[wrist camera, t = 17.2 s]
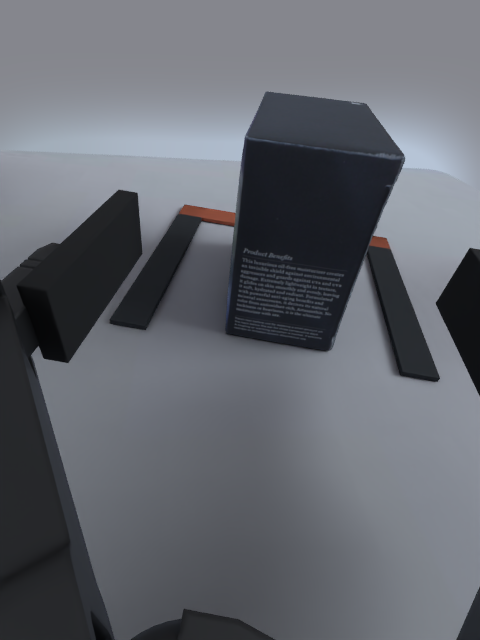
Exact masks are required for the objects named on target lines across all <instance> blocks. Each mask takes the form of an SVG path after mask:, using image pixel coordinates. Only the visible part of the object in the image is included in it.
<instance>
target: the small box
mask: <svg viewBox="0 0 480 640" xmlns="http://www.w3.org/2000/svg"><path fill="white" fill-rule="evenodd" d="M404 162H405V157H404V154H403V153H402V151H401V150H400V149H399V147H398V146H397V145H396V144H395V142H394V141H393V140H392V139H391V137H390V136H389V134H388V133H387V132H386V130H385V129H384V127H383V126H382V125H381V123H380V122H379V121H378V120H377V118H376V117H375V115H374V114H373V113H372V111H371V110H370V108H369V107H368V106H367V104H364V103H357V102H349V101H340V100H332V99H325V98H316V97H307V96H299V95H290V94H281V93H274V92H266V93H265V95H264V97H263V100H262V102H261V104H260V106H259V108H258V111H257V113H256V115H255V117H254V119H253V121H252V124H251V125H250V128H249V129H248V132H247V133H246V136H245V141H244V148H243V154H242V162H241V169H240V177H239V186H238V195H237V204H236V215H235V225H234V235H233V245H232V255H231V266H230V276H229V287H228V299H227V313H226V329H225V330H226V333H228V334H233V335H238V336H244V337H250V338H256V339H262V340H267V341H273V342H279V343H284V344H290V345H297V346H302V347H308V348H314V349H320V350H327V351H328V350H331V349H332V347H333V344H334V341H335V338H336V335H337V332H338V329H339V326H340V323H341V320H342V317H343V314H344V312H345V309H346V307H347V303H348V301H349V298H350V296H351V293H352V290H353V288H354V285H355V282H356V279H357V277H358V274H359V272H360V269H361V266H362V264H363V261H364V258H365V256H366V254H367V251H368V247H369V245H370V242H371V240H372V237H373V234H374V232H375V230H376V228H377V223H378V222H379V219H380V217H381V214H382V212H383V209H384V207H385V205H386V203H387V200H388V198H389V196H390V194H391V191H392V189H393V186H394V184H395V182H396V181H397V178H398V176H399V174H400V172H401V169H402V166H403V164H404Z"/></svg>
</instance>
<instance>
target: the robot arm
mask: <svg viewBox="0 0 480 640" xmlns="http://www.w3.org/2000/svg"><path fill="white" fill-rule="evenodd" d="M141 255H142V243H141V231H140V218H139V206H138V193H135V192H129V191H123V190H118V191H117V192H116V193H115V194H114V195H112V196H111V197H110V198H109V199H108V200H107V201H106V202H105V203H104V204H103V205H102V206H101V207H100V208H99V209H97V210H96V211H95V212H94V213H93V214H92V215H91V216H90V217H89V218H88V219H87V220H86V221H85V222H84V223H82V224H81V225H80V226H79V227H78V228H77V229H76V230H75V231H74V232H73V233H72V234H71V235H70V236H69V237H67V238H66V239H65V240H64V241H63V242H62V243H61V244H57V243H51V244H48V245H46V246H44V247H42V248H39V249H37V250H36V251H35V252H34V253H33V254H32V255H31V256H29V257H28V260H25V261H24V262H23V263H21V264H20V267H17V268H16V269H15V270H13V271H12V272H11V273H10V274H9V275H8V276H7V277H5V278H4V279H3V280H2V281H1V280H0V640H115V639H114V635H113V632H112V628H111V625H110V621H109V618H108V615H107V611H106V608H105V605H104V602H103V599H102V597H101V594H100V591H99V589H98V586H97V583H96V579H95V576H94V573H93V569H92V565H91V562H90V558H89V555H88V551H87V548H86V544H85V541H84V537H83V534H82V530H81V527H80V523H79V520H78V516H77V513H76V509H75V506H74V502H73V498H72V495H71V491H70V488H69V484H68V481H67V477H66V474H65V470H64V467H63V463H62V460H61V456H60V453H59V449H58V446H57V442H56V439H55V435H54V431H53V428H52V424H51V421H50V417H49V414H48V410H47V407H46V403H45V400H44V396H43V393H42V389H41V386H40V382H39V379H38V375H37V372H36V368H35V364H34V361H33V359H32V356H31V354H32V353H33V352H34V351H35V349H36V348H37V347H38V346H39V347H40V350H41V353H42V355H43V358H44V359H49V360H54V361H60V362H65V363H69V361H70V360H71V358H72V357H73V355H74V354H75V352H76V351H77V349H78V348H79V346H80V345H81V343H82V342H83V340H84V339H85V338H86V336H87V335H88V333H89V332H90V330H91V329H92V327H93V326H94V324H95V323H96V321H97V320H98V318H99V317H100V315H101V314H102V312H103V311H104V309H105V308H106V307H107V305H108V304H109V302H110V301H111V299H112V298H113V296H114V295H115V293H116V292H117V290H118V289H119V287H120V286H121V284H122V283H123V281H124V280H125V278H126V277H127V276H128V274H129V273H130V271H131V270H132V268H133V267H134V265H135V264H136V262H137V261H138V259H139V258H140V256H141ZM436 305H437V307H438V309H439V312H440V314H441V316H442V318H443V320H444V322H445V324H446V326H447V328H448V330H449V332H450V335H451V337H452V339H453V341H454V343H455V345H456V347H457V349H458V351H459V353H460V356H461V358H462V360H463V362H464V364H465V366H466V368H467V370H468V372H469V374H470V377H471V379H472V381H473V383H474V385H475V387H476V389H477V391H478V393H479V395H480V250H479V249H473V248H470V249H469V250H468V252H467V253H466V255H465V257H464V258H463V260H462V262H461V263H460V265H459V266H458V268H457V270H456V271H455V273H454V275H453V276H452V278H451V279H450V281H449V283H448V284H447V286H446V288H445V289H444V291H443V292H442V294H441V296H440V297H439V299H438V301H437V302H436ZM131 640H274V639H273V638H271V637H269V636H267V635H266V634H264V633H262V632H260V631H259V630H257V629H255V628H253V627H251V626H250V625H248V624H246V623H244V622H243V621H241V620H238V619H233V618H228V617H223V616H218V615H213V614H208V613H202V612H197V611H192V610H187V609H184V610H183V615H182V619H179V620H173V621H168V622H165V623H162V624H159V625H156V626H153V627H151V628H149V629H147V630H145V631H143V632H141V633H140V634H138V635H137V636H135V637H134V638H132V639H131ZM457 640H480V587H479V590H478V592H477V594H476V596H475V599H474V601H473V603H472V606H471V608H470V610H469V612H468V615H467V617H466V619H465V621H464V624H463V626H462V628H461V631H460V633H459V635H458V637H457Z"/></svg>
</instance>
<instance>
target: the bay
mask: <svg viewBox="0 0 480 640" xmlns="http://www.w3.org/2000/svg"><path fill="white" fill-rule="evenodd" d="M235 215H236V213H232V212H226V211H220V210H214V209H208V208H202V207H196V206H190V205H184V206H183V208H182V209H181V211H180V212H179V214H178V216H177V217H176V219H175V220H174V222H173V223H172V225H171V226H170V228H169V229H168V231H167V232H166V234H165V236H164V237H163V239H162V240H161V242H160V243H159V245H158V246H157V248H156V249H155V251H154V252H153V254H152V256H151V257H150V259H149V260H148V262H147V263H146V265H145V266H144V268H143V269H142V271H141V273H140V274H139V276H138V277H137V279H136V280H135V282H134V283H133V285H132V286H131V288H130V289H129V291H128V293H127V294H126V296H125V297H124V299H123V300H122V302H121V303H120V305H119V306H118V308H117V309H116V311H115V313H114V314H113V316H112V317H111V319H110V323H111V324H116V325H122V326H128V327H133V328H139V329H144V330H146V328H147V326H148V324H149V322H150V320H151V318H152V316H153V314H154V312H155V310H156V308H157V306H158V305H159V303H160V301H161V299H162V297H163V295H164V293H165V291H166V289H167V287H168V285H169V283H170V281H171V279H172V277H173V275H174V273H175V271H176V269H177V267H178V265H179V264H180V262H181V260H182V258H183V256H184V254H185V252H186V250H187V248H188V246H189V244H190V242H191V240H192V238H193V236H194V234H195V232H196V230H197V228H198V226H199V224H200V222H201V221H206V222H212V223H218V224H224V225H230V226H234V225H235ZM367 255H368V258H369V262H370V266H371V269H372V273H373V277H374V280H375V284H376V288H377V291H378V295H379V298H380V302H381V306H382V309H383V313H384V317H385V320H386V324H387V327H388V331H389V335H390V338H391V342H392V346H393V349H394V353H395V357H396V360H397V364H398V367H399V371H400V375H403V376H408V377H414V378H420V379H425V380H431V381H436V382H438V380H439V379H440V377H439V374H438V372H437V369H436V367H435V364H434V361H433V359H432V356H431V353H430V351H429V348H428V346H427V343H426V340H425V338H424V335H423V333H422V330H421V327H420V325H419V322H418V320H417V317H416V314H415V312H414V309H413V307H412V304H411V301H410V299H409V296H408V293H407V291H406V288H405V286H404V283H403V280H402V278H401V275H400V273H399V270H398V267H397V265H396V262H395V260H394V257H393V254H392V252H391V249H390V247H389V244H388V241H387V239H386V238H383V237H377V236H373V237H372V240H371V242H370V245H369V247H368V251H367Z"/></svg>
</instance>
